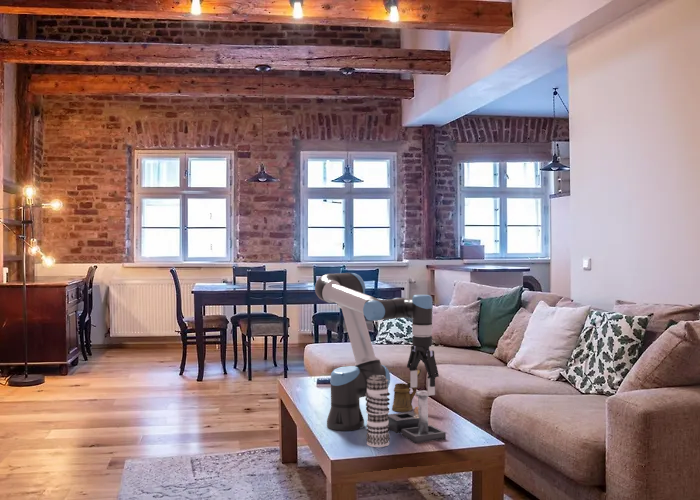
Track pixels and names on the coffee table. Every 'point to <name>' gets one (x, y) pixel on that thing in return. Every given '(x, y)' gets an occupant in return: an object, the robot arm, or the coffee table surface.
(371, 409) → the decorative candle
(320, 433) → the coffee table surface
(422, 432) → the lock pin
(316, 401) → the coffee table surface
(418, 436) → the tray
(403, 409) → the wooden mug
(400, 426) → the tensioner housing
